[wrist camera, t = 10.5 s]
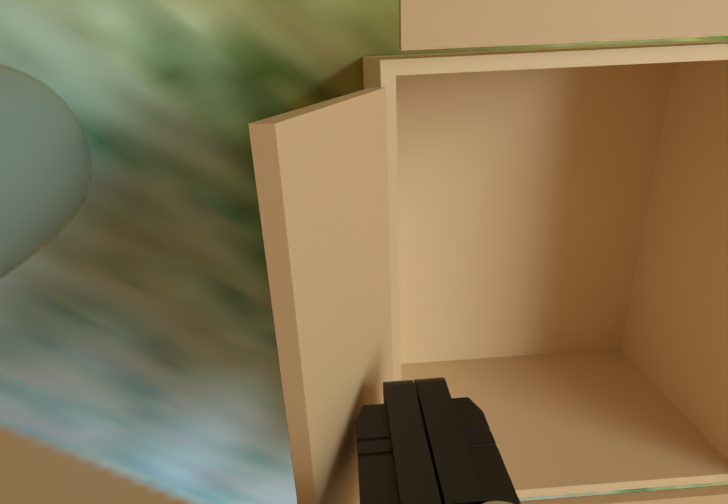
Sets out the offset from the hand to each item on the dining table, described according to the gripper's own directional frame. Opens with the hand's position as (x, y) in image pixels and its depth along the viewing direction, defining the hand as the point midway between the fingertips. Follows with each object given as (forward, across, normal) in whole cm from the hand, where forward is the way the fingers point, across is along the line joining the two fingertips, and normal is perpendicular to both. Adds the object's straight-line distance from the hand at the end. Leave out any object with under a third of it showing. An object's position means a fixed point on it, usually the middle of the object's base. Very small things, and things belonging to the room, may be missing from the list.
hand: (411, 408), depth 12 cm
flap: (0, +1, 0) cm, 1 cm away
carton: (+13, -7, 0) cm, 15 cm away
